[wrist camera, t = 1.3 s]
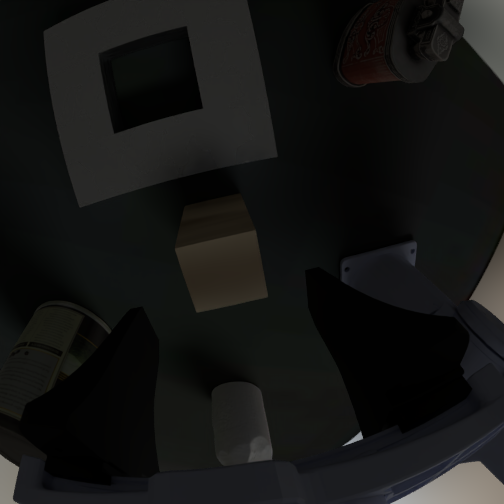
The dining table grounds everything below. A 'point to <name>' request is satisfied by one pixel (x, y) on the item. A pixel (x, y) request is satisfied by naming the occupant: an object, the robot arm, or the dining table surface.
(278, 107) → the dining table surface
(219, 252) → the peg
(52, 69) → the square hole board
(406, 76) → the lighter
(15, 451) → the coffee can
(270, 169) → the dining table surface
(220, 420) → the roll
